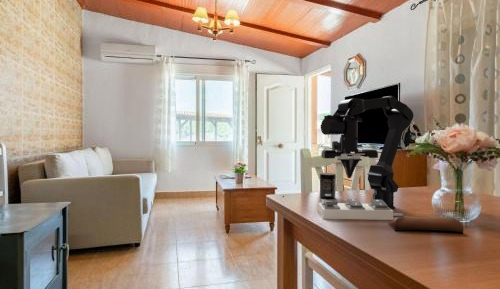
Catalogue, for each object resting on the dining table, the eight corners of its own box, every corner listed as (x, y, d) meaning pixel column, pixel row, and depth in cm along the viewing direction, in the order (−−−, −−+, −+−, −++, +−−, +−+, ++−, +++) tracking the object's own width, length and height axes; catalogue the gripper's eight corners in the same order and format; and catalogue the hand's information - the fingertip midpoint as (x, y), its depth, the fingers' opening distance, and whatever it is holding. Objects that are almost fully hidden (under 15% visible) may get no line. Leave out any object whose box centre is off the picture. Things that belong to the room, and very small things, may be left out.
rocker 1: (334, 204, 106) (334, 201, 106) (337, 204, 100) (337, 201, 101) (323, 203, 106) (323, 201, 106) (326, 204, 101) (326, 201, 101)
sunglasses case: (447, 225, 92) (454, 208, 89) (458, 243, 87) (466, 227, 83) (385, 223, 95) (389, 207, 91) (392, 241, 89) (396, 225, 85)
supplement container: (333, 196, 137) (333, 173, 137) (337, 199, 130) (337, 174, 130) (318, 196, 137) (318, 172, 137) (321, 199, 131) (321, 174, 130)
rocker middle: (357, 201, 105) (357, 198, 105) (362, 208, 100) (362, 205, 100) (347, 201, 105) (347, 198, 105) (351, 207, 100) (351, 205, 100)
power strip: (396, 212, 108) (396, 202, 108) (409, 220, 98) (409, 209, 98) (318, 211, 109) (318, 201, 109) (323, 218, 99) (323, 207, 99)
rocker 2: (381, 202, 105) (381, 199, 105) (387, 208, 100) (387, 205, 99) (370, 201, 105) (371, 199, 105) (376, 208, 100) (376, 205, 100)
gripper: (367, 134, 118) (367, 174, 118) (318, 134, 118) (318, 175, 118) (378, 134, 107) (378, 178, 107) (324, 134, 107) (325, 179, 107)
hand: (349, 177), depth 110 cm, fingers closed
